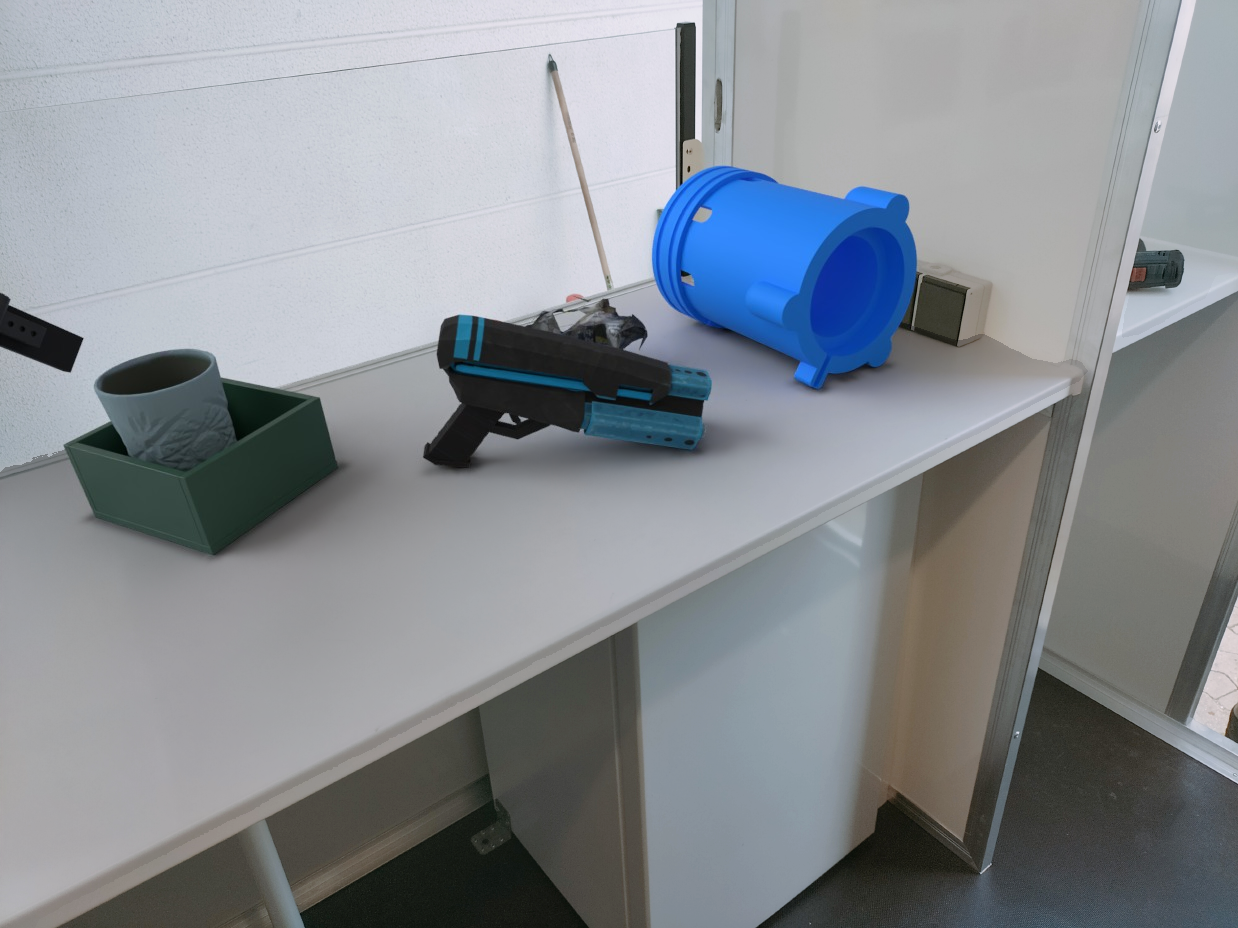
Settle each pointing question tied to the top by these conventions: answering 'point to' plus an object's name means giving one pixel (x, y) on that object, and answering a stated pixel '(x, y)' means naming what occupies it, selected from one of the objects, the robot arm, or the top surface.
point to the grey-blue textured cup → (168, 407)
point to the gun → (559, 389)
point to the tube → (789, 266)
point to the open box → (212, 471)
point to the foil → (597, 325)
